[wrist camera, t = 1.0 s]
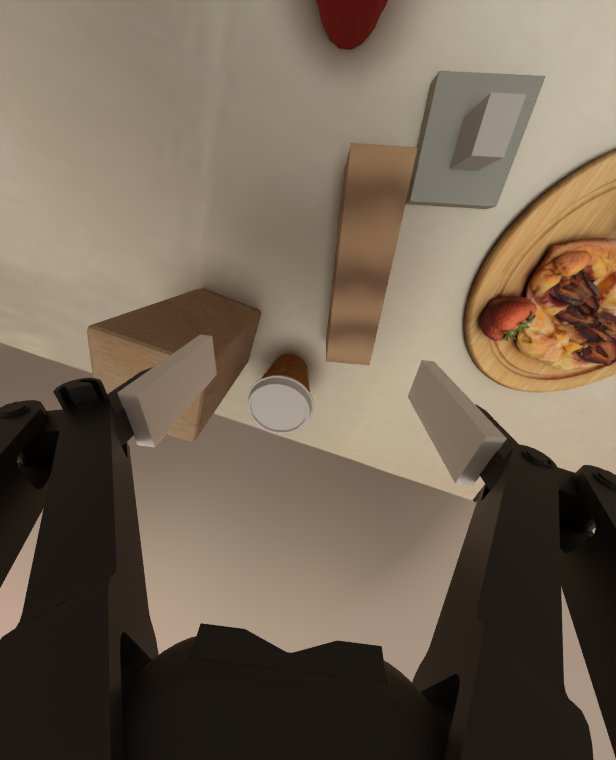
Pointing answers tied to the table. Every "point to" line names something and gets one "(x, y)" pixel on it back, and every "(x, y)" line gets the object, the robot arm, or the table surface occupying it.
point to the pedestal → (470, 137)
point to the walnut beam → (366, 246)
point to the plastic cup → (349, 20)
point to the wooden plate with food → (551, 289)
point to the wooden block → (176, 346)
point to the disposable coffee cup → (282, 397)
